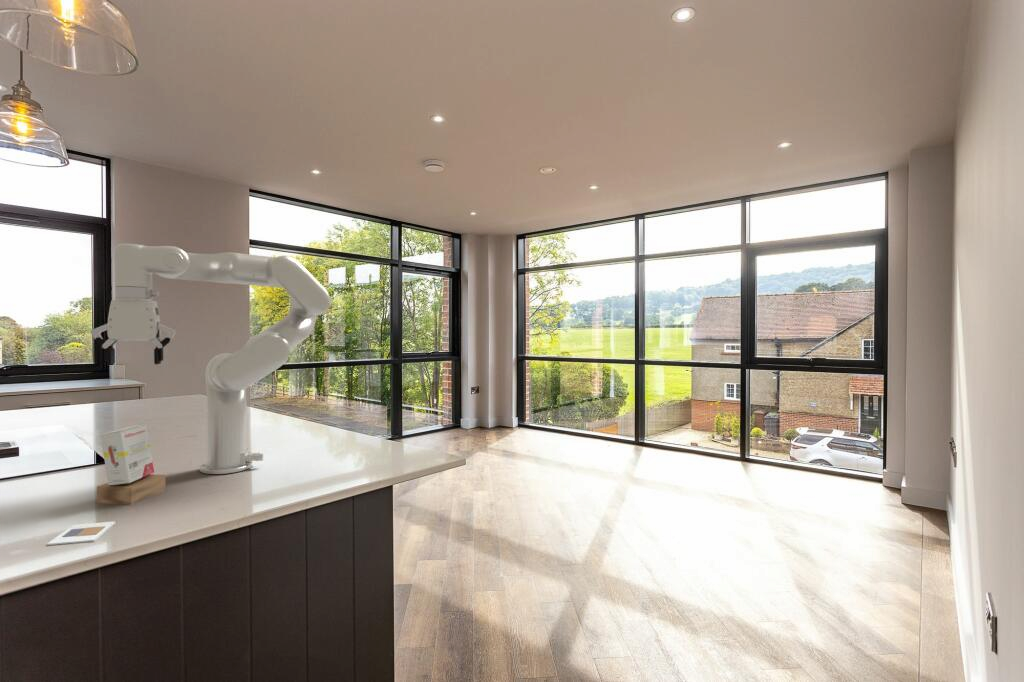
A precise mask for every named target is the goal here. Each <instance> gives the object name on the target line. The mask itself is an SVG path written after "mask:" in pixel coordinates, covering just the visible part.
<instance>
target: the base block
mask: <svg viewBox="0 0 1024 682" xmlns="http://www.w3.org/2000/svg"><path fill="white" fill-rule="evenodd" d="M164 491H166V474H153V473H151V474H149V475H147V476H145V477H142V478H140V479H138V480H136V481H133V482H131V483H126V484H118V485H108V482H106V483H103V484H100V485H97V486H96V504H109V505H110V504H113V505H134V504H136V503H138V502H142V501H144V500H145V499H148V498H151V497H152V496H155V495H158V494H159V493H162V492H164Z"/></svg>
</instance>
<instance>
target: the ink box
mask: <svg viewBox="0 0 1024 682" xmlns="http://www.w3.org/2000/svg"><path fill="white" fill-rule="evenodd" d="M148 429H149V428H148V425H147V424H146V423H143V424H137V425H131V426H126V427H122V428H118V429H115V430H114V429H113V430H111V431H107V432H103V433H101V434H100V438H101V439H100V440H101V444H102V446H101V447H102V453H103V459H104V460H103V461H104V466H105V473H106V479H107V483H108V485H118V484H126V483H131V482H133V481H136V480H138V479H140V478H142V477H145V476H147V475H149V474H153V473H155V468H154V464H153V463H154V462H153V457H152V449H151V443H150V437H149V430H148Z"/></svg>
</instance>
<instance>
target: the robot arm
mask: <svg viewBox="0 0 1024 682" xmlns="http://www.w3.org/2000/svg"><path fill="white" fill-rule="evenodd" d="M113 250H114V252H113V258H114V260H113V261H114V262H113V263H114V264H113V265H114V267H113V268H114V269H113V270H114V273H113V274H114V278H113V279H114V299H111V301H110V305H109V310H108V316H107V323H105V324H102V325H100V326H98V327H95V328H92V329H90V331H89V332H90V334H91V336H92V337H93V338H94V340H95V342H96V343H97V344H98V345H100V346H101V348H102V349H104V350H103V351H104V354H103V355H104V362H106V365H107V366H112V365H115V363H116V352H115V351H116V349H115V347H114V345H115V344H116V343H118V342H121V341H123V342H124V341H125V342H127V341H128V342H129V341H130V342H133V341H134V342H140V341H141V342H147V341H150V342H151V343H152V344H153V345H154V346H155V348H154V349H153V354H154V355H153V356H154V357H153V362H154V364H155V365H161V363H162V362H163V361H164V348H165V347H166V346H167V345H168V344H169V343H171V341H172V340H173V339H174V337H175V336H176V333H177V331H176V330H175V329H172V328H170V327H168V326H165V325H164V324H161V318H160V311H159V306H158V303H157V301H155V300H153V299H154V298H156V297H160V291H158V290H155V289H154V288H153V274H156V275H158V276H159V277H161V278H165V279H170V280H171V279H173V280H186V281H196V282H197V281H198V282H212V283H220V284H234V285H235V284H236V285H245V286H246V285H248V286H258V287H271V288H283V290H284V291H285V292H286V293H287V294H288V295H289V296H290V299H289V309H288V313H287V315H286V316H285V317H284V318H282V319H281V320H279V321H278V322H276V323H275V324H273V325H271V326H269V327H268V328H266V329H264V330H262V331H260V332H259V333H257V334H254V335H252V336H251V337H250V338H249V339H248V340H247V341H246V343H245V345H244V346H243V347H242V348H241V349H239V350H236V352H233V353H230V352H228V353H225V352H223V353H220V354H216V355H215V356H214V357H212V358H211V359H210V360H209V362H208V363H207V365H206V367H205V368H206V369H205V371H204V372H205V389H206V459H205V460H206V461H205V462H204V463H202V464H201V465H200V466H199V472H201V473H203V474H208V475H223V474H233V473H238V472H242V471H246V470H248V469H251V467H252V466H253V462H258V461H259V462H262V461H264V453H260V452H254V453H253V452H249V451H250V449H249V448H247V407H248V405H247V404H248V403H247V388H250V387H251V386H253V385H254V384H256V383H258V382H259V381H261V380H262V379H264V378H265V377H267V376H268V375H270V374H272V373H273V372H274V371H277V370H278V369H279V368H281V367H282V366H283V365H284V364H285V363H286V362H287V361H288V360H289V358H290V355H291V350H292V349H294V348H295V347H297V346H298V345H300V344H301V343H302V342H304V341H305V340H306V339H307V338H308V337H309V336H311V334H312V332H313V331H314V328H315V326H316V321H317V316H320V315H323V314H325V313H326V312H327V311H328V310H329V308H330V306H331V296H330V293H329V292H328V290H327V289H326V288H325V287H324V286H323V285H322V284H321V283H320V282H319V280H317V279H316V278H315V277H314V276H313V275H312V274H311V273H310V272H309V271H308V269H306V268H305V266H304V265H302V263H300V262H299V260H297V259H295V258H294V257H293V256H289V255H279V256H267V255H257V254H256V255H255V254H250V253H249V254H247V253H242V252H240V253H239V252H230V251H228V252H219V253H195V252H194V253H193V252H186V251H184V250H183V249H182V248H180V247H178V246H174V245H172V246H171V245H159V246H158V245H157V246H155V245H154V246H151V245H149V246H147V245H145V244H137V243H119V244H116V245H115V247H114V249H113ZM105 331H106V334H107V338H108V339H107V340H106V338H104V337H102V335H101V334H102V332H103V333H104V332H105ZM161 332H165V333H166V336H165V338H163V339H162V340H161V339H160V338H161V335H162V333H161Z"/></svg>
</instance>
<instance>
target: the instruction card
mask: <svg viewBox="0 0 1024 682" xmlns="http://www.w3.org/2000/svg"><path fill="white" fill-rule="evenodd" d="M116 523H117V521H116V520H115V521H105V522H104V521H103V522H93V523H79V524H72V525H71V526H69V527H68V528H67V529H66V530H64V531H62V532H61V533H60V534H57V536H55V537H54V538H53V539H51V540H50V541H49V542H47V544H46V546H57V545H66V544H77V543H78V544H79V543H90V542H95V541H96V540H98V539H99V538H100V537H102V535H104V534H105V533H106V532H107V531H109V529H110V528H111V527H113V526H114V525H115V524H116Z"/></svg>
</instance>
